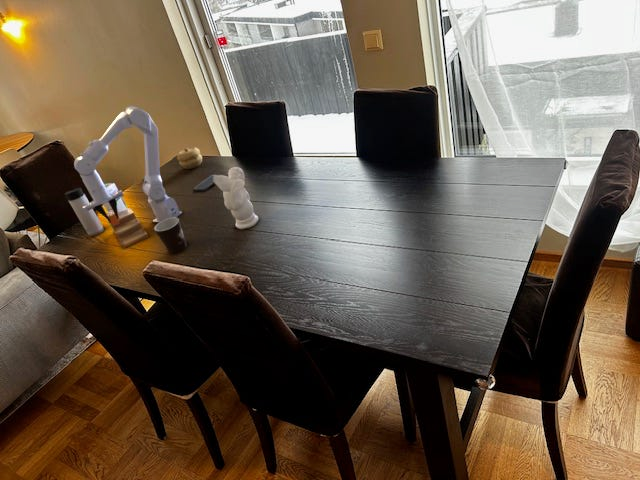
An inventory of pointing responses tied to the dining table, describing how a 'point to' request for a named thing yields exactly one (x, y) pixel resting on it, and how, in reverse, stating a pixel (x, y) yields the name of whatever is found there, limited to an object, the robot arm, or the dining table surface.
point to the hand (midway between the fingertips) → (114, 219)
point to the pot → (189, 158)
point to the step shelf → (128, 228)
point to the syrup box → (120, 202)
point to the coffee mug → (171, 235)
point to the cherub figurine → (237, 197)
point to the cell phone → (205, 184)
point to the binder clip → (113, 218)
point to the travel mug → (86, 218)
